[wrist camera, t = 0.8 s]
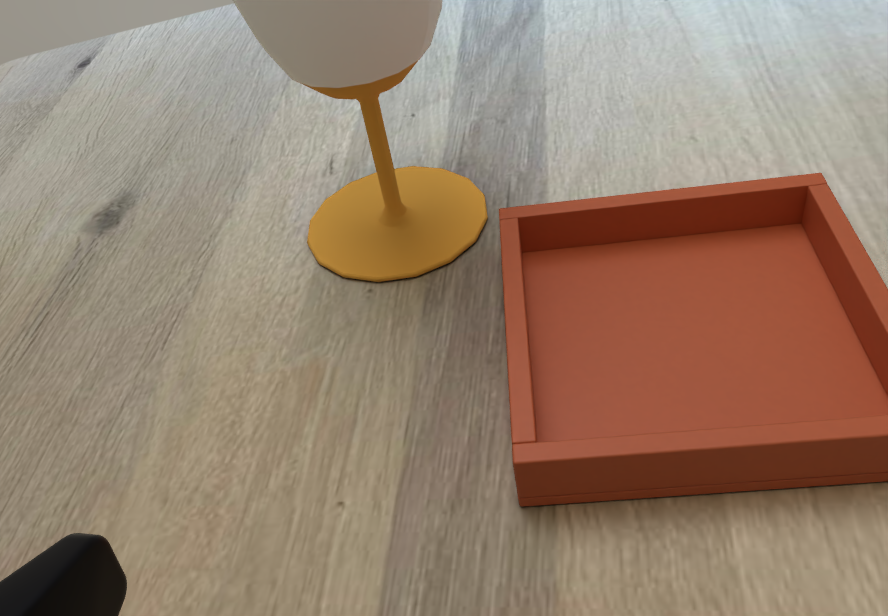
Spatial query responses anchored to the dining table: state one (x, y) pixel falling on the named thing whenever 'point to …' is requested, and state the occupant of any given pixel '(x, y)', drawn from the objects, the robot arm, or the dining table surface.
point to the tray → (693, 343)
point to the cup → (371, 134)
